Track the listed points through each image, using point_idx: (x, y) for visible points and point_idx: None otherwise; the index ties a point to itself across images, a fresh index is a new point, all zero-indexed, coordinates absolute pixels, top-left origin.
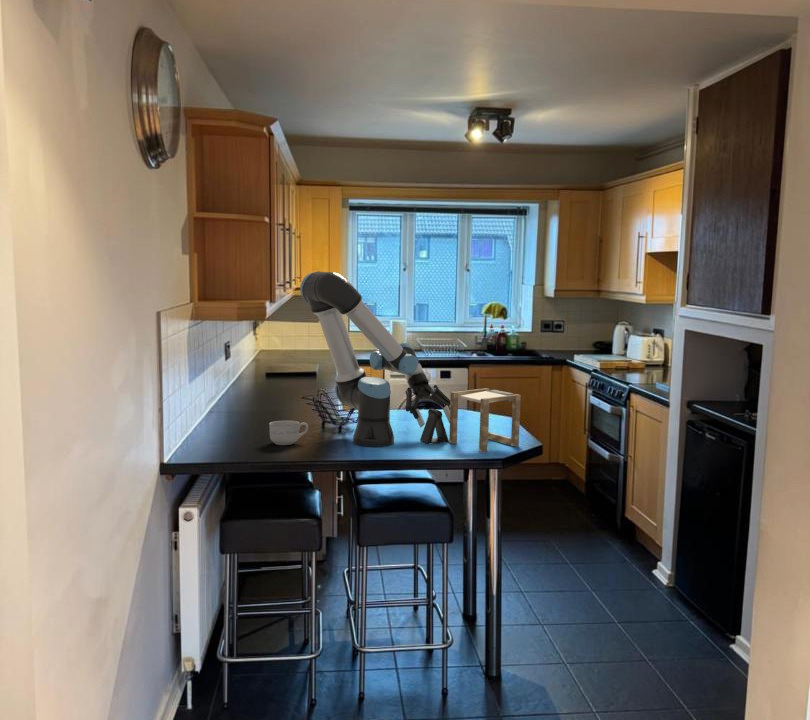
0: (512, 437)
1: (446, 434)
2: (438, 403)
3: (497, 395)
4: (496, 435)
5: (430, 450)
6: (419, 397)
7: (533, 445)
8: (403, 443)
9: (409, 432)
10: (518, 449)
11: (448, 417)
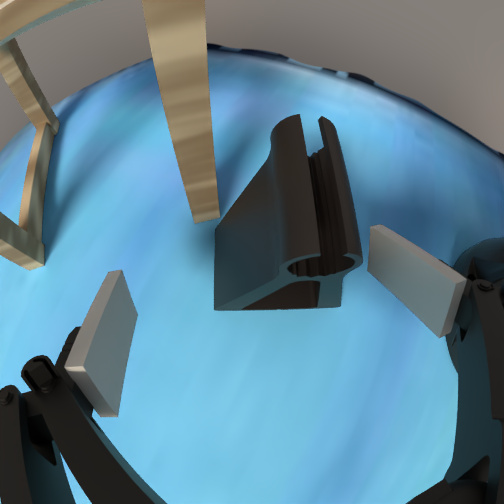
0: (46, 112)
1: (228, 213)
2: (135, 473)
3: (2, 7)
4: (33, 179)
5: (343, 145)
6: (494, 414)
7: (17, 134)
8: None
9: (320, 481)
10: (74, 102)
11: (124, 324)
